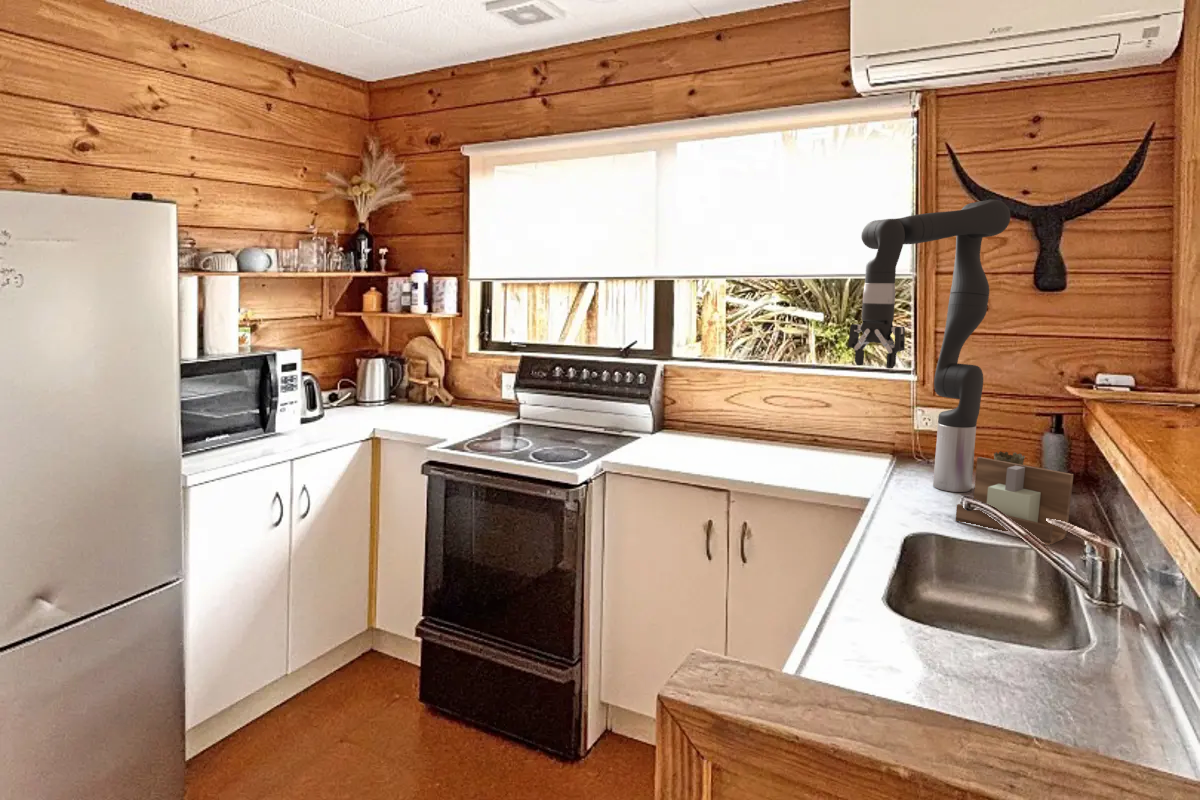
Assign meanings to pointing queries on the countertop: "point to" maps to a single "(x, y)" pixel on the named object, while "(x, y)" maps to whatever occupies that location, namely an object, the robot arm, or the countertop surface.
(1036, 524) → the wooden tablet stand
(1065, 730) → the countertop surface
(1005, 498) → the tab block
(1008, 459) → the grey-green lumpy piece
